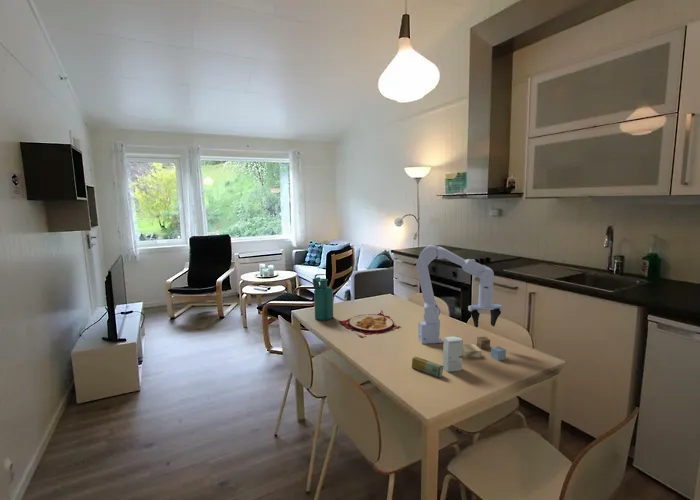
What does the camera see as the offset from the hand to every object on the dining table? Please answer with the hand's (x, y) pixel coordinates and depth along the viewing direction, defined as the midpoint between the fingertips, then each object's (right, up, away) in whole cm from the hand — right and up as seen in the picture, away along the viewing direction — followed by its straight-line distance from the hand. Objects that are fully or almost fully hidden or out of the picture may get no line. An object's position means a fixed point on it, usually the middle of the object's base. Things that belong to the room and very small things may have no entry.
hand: (484, 326), depth 156 cm
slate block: (+2, -11, -10) cm, 15 cm away
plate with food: (-47, -7, +30) cm, 56 cm away
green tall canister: (-73, -5, +42) cm, 85 cm away
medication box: (-29, -13, -21) cm, 38 cm away
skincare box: (-19, -13, -19) cm, 30 cm away
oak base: (-9, -11, -6) cm, 15 cm away
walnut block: (0, -10, +1) cm, 10 cm away
